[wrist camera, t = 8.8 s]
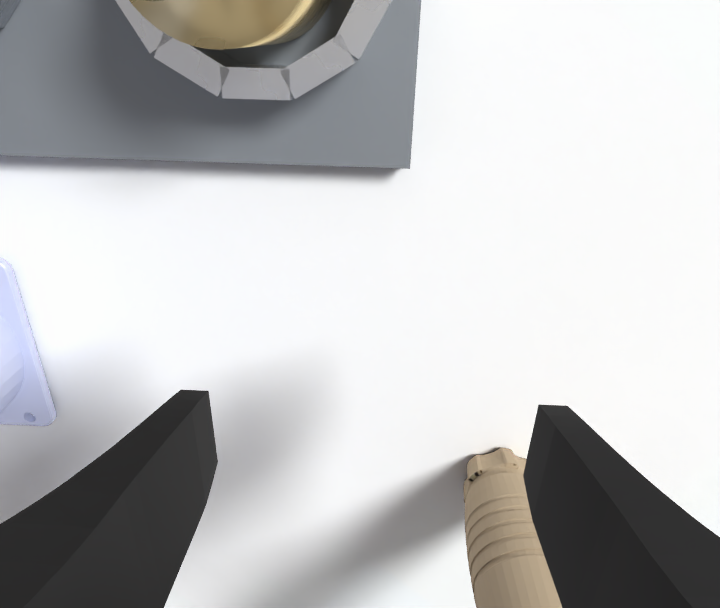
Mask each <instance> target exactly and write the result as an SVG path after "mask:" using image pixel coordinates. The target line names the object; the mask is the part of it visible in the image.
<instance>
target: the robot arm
mask: <svg viewBox="0 0 720 608" xmlns="http://www.w3.org/2000/svg"><path fill="white" fill-rule="evenodd" d="M30 413H32V414H33V415H34V416H33V415H32V414H30ZM55 418H56V411H55V407H54V404H53V401H52V397H51V394H50V391H49V387H48V384H47V381H46V377H45V374H44V371H43V368H42V364H41V361H40V358H39V354H38V351H37V348H36V344H35V341H34V338H33V334H32V331H31V328H30V324H29V321H28V318H27V314H26V311H25V308H24V304H23V301H22V298H21V294H20V291H19V288H18V284H17V281H16V278H15V274H14V271H13V268H12V266H11V264H10V263H9V262H8V261H7V260H5V259H3V258H1V257H0V424H10V425H33V426H48V425H50V424H51V423H52V422H53V421H54V420H55ZM217 463H218V460H217V453H216V445H215V438H214V430H213V422H212V415H211V407H210V400H209V392H208V391H196V390H180V391H179V392H178V393H176V394H175V395H174V396H173V397H172V398H170V399H169V400H168V401H167V402H166V403H164V404H163V405H162V406H161V407H160V408H158V409H157V410H156V411H155V412H154V413H153V414H151V415H150V416H149V417H148V418H147V419H146V420H144V421H143V422H142V423H141V424H140V425H138V426H137V427H136V428H135V429H133V430H132V431H131V432H130V433H129V434H127V435H126V436H125V437H124V438H123V439H121V440H120V441H119V442H118V443H116V444H115V445H114V446H113V447H111V448H110V449H109V450H108V451H106V452H105V453H104V454H102V455H101V456H100V457H98V458H97V459H96V460H94V461H93V462H92V463H90V464H89V465H88V466H86V467H85V468H84V469H82V470H81V471H80V472H78V473H77V474H76V475H74V476H73V477H72V478H70V479H69V480H68V481H66V482H65V483H63V484H62V485H60V486H59V487H58V488H56V489H55V490H53V491H52V492H50V493H49V494H47V495H46V496H44V497H43V498H41V499H40V500H38V501H37V502H35V503H33V504H32V505H30V506H29V507H27V508H26V509H24V510H22V511H21V512H19V513H18V514H16V515H15V516H13V517H11V518H10V519H8V520H6V521H5V522H3V523H1V524H0V608H164V606H165V603H166V601H167V598H168V596H169V594H170V591H171V589H172V586H173V584H174V581H175V579H176V577H177V574H178V572H179V569H180V567H181V565H182V562H183V560H184V557H185V555H186V553H187V550H188V548H189V545H190V543H191V541H192V538H193V536H194V533H195V531H196V528H197V526H198V523H199V521H200V519H201V516H202V514H203V511H204V509H205V506H206V503H207V499H208V496H209V492H210V489H211V485H212V482H213V478H214V474H215V470H216V466H217ZM523 478H524V483H525V488H526V493H527V498H528V503H529V507H530V512H531V516H532V520H533V523H534V527H535V530H536V533H537V536H538V538H539V541H540V544H541V547H542V550H543V553H544V556H545V559H546V562H547V565H548V568H549V570H550V573H551V576H552V579H553V582H554V585H555V588H556V591H557V593H558V596H559V599H560V602H561V605H562V608H720V537H719V536H717V535H716V534H714V533H713V532H712V531H710V530H709V529H708V528H706V527H705V526H704V525H702V524H701V523H700V522H698V521H697V520H696V519H694V518H693V517H692V516H691V515H689V514H688V513H687V512H686V511H684V510H683V509H682V508H681V507H680V506H678V505H677V504H676V503H675V502H673V501H672V500H671V499H670V498H669V497H667V496H666V495H665V494H664V493H662V492H661V491H660V490H659V489H658V488H657V487H655V486H654V485H653V484H652V483H651V482H650V481H648V480H647V479H646V478H645V477H644V476H643V475H642V474H640V473H639V472H638V471H637V470H636V469H635V468H634V467H633V466H631V465H630V464H629V463H628V462H627V461H626V460H625V459H624V458H623V457H622V456H621V455H619V454H618V453H617V452H616V451H615V450H614V449H613V448H612V447H611V446H610V445H609V444H608V443H607V442H605V441H604V440H603V439H602V438H601V437H600V436H599V435H598V434H597V433H596V432H595V431H594V430H593V429H592V428H591V427H590V426H589V425H588V424H586V423H585V422H584V421H583V420H582V419H581V418H580V417H579V416H578V415H577V414H576V413H575V412H574V411H572V410H571V409H570V408H569V407H568V406H556V405H539V406H538V411H537V415H536V419H535V424H534V428H533V433H532V437H531V442H530V446H529V451H528V455H527V460H526V464H525V469H524V473H523Z"/></svg>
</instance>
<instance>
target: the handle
mask: <svg viewBox="0 0 720 608" xmlns="http://www.w3.org/2000/svg"><path fill="white" fill-rule="evenodd" d="M526 460H527V459H525V458H520V457H517V456H515V455H514V454H513V452H512V450H511V449H506V448H499V449H498V450H496V451H495V452H492V453H489V454H485V455H476V456H474V457H473V458H472V459H470V461H469V462H468V464H467V475H468V477H467V479H465V482H464V502H465V532H466V545H467V555H468V561H469V570H470V575H471V582H472V588H473V593H474V599H475V603H476V607H477V608H562V605H561V602H560V599H559V596H558V593H557V591H556V588H555V585H554V582H553V579H552V576H551V573H550V570H549V568H548V565H547V562H546V559H545V556H544V553H543V550H542V547H541V544H540V541H539V538H538V536H537V533H536V530H535V527H534V523H533V520H532V516H531V512H530V507H529V503H528V498H527V493H526V488H525V483H524V478H523V473H524V469H525V464H526Z"/></svg>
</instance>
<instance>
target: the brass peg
mask: <svg viewBox="0 0 720 608" xmlns="http://www.w3.org/2000/svg"><path fill="white" fill-rule="evenodd" d="M129 1H130V2H131V4H132V5H133V6H134V7H135V8H136V9H137V10H138V11H139V12H140V14H141V15H142V16H143V17H144V18H146V19H147V20H148V21H149V22H150V23H151V24H153V25H154V26H155V27H156V28H158V29H159V30H161V31H162V32H164V33H165V34H167V35H168V36H170V37H172V38H174V39H176V40H178V41H180V42H183V43H186V44H189V45H192V46H195V47H200V48H205V49H216V50H223V49H234V48H244V47H253V46H263V45H273V44H280V43H284V42H288V41H291V40H293V39H296V38H298V37H299V36H301V35H303V34H304V33H306V32H307V31H308V30H310V29H311V28H312V27H313V26H314V25H315V24H316V23H317V22H318V21H319V20H320V19H321V17H322V16H323V14H324V13H325V12H326V10H327V8H328V6H329V4H330V2H331V0H129Z"/></svg>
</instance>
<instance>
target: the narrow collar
mask: <svg viewBox="0 0 720 608" xmlns="http://www.w3.org/2000/svg"><path fill="white" fill-rule="evenodd" d="M21 1H22V0H0V28H5V27H6V25H7V23H8V22H9V20H10V19H11V17H12V15H13V14H14V12H15V11H16V9H17V8H18V6H19V4H20V3H21Z"/></svg>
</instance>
